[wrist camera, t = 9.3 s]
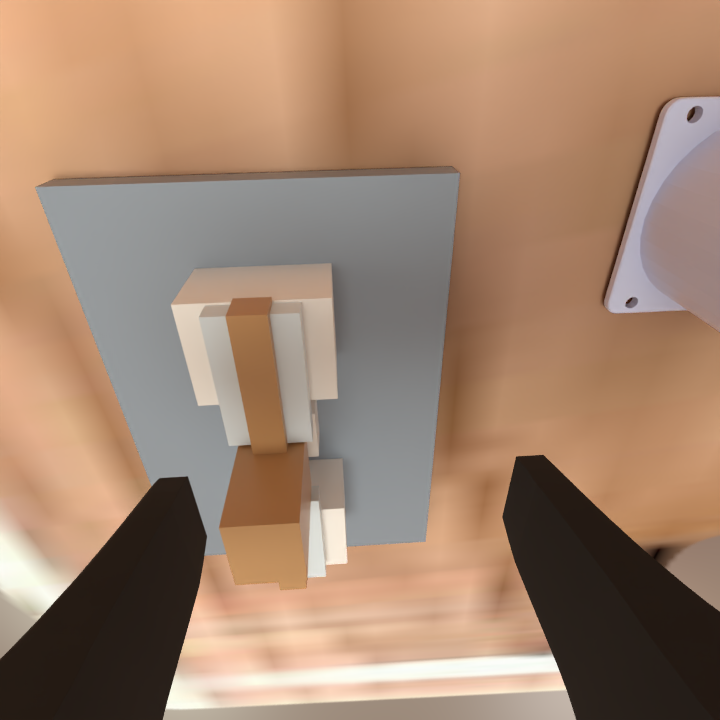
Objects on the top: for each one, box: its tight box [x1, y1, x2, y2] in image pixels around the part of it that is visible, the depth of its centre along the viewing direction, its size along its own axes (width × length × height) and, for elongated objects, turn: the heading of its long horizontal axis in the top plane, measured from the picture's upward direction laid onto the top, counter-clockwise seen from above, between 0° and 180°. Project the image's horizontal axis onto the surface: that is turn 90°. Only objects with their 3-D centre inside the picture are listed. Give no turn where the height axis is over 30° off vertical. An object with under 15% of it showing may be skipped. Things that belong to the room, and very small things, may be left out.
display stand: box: [35, 166, 460, 565], centre depth 20 cm, size 14×20×4 cm
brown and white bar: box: [199, 297, 326, 590], centre depth 16 cm, size 3×14×4 cm, turn 1°
